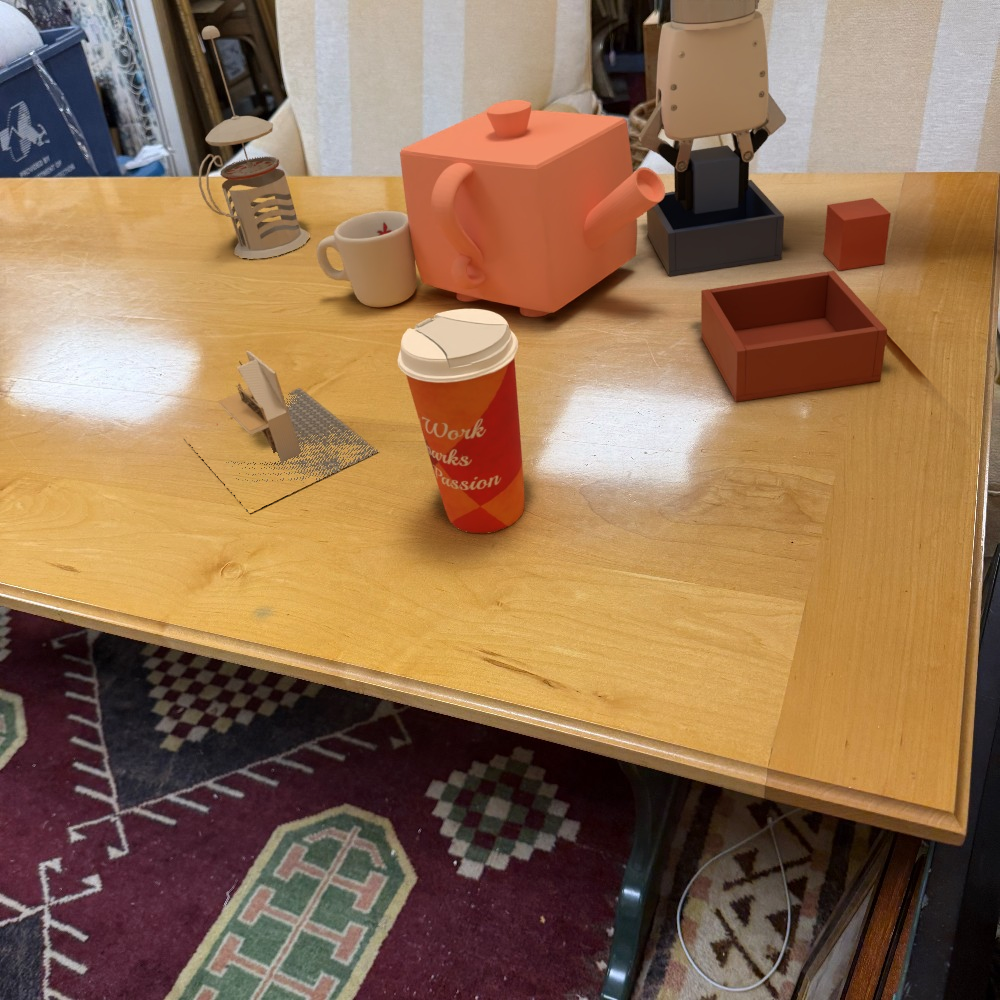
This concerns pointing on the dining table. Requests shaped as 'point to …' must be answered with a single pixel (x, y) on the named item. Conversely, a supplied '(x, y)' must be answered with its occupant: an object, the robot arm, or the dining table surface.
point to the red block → (856, 234)
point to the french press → (253, 173)
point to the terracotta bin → (791, 336)
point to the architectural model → (288, 420)
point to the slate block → (714, 179)
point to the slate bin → (716, 234)
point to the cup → (374, 257)
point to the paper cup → (469, 414)
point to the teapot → (525, 205)
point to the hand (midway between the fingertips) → (711, 200)
